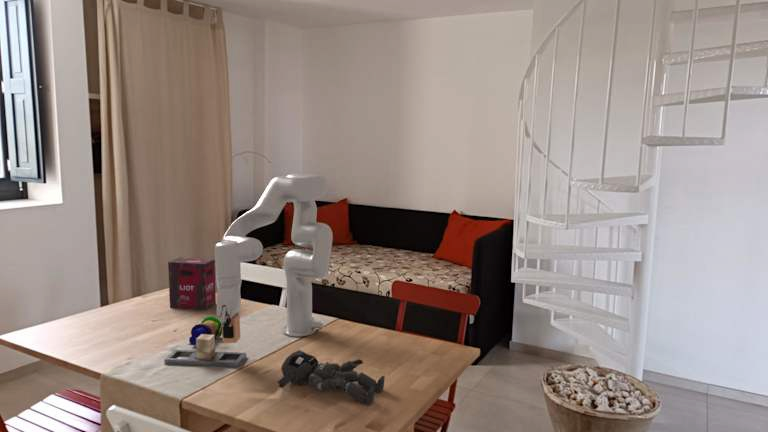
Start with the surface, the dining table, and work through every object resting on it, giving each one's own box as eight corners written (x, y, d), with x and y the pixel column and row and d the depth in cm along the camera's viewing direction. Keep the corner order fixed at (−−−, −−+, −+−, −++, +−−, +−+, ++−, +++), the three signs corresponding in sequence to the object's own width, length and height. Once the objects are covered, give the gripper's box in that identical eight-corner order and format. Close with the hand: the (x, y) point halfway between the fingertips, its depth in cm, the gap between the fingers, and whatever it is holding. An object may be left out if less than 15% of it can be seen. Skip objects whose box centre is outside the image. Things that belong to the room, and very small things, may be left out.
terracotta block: (240, 337, 180) (239, 314, 178) (236, 342, 176) (234, 319, 174) (227, 337, 180) (226, 313, 179) (222, 342, 176) (221, 318, 174)
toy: (215, 334, 187) (234, 319, 202) (196, 318, 187) (216, 304, 202) (197, 359, 190) (217, 342, 204) (178, 343, 190) (199, 327, 205)
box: (169, 307, 235) (168, 262, 232) (180, 301, 244) (179, 257, 241) (206, 310, 232) (204, 264, 229) (215, 304, 241) (214, 259, 238)
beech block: (215, 358, 181) (214, 334, 180) (210, 363, 176) (209, 339, 175) (202, 357, 181) (201, 334, 180) (196, 362, 177) (196, 339, 175)
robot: (367, 389, 149) (273, 359, 159) (363, 423, 151) (270, 391, 161) (389, 366, 165) (302, 339, 175) (385, 397, 167) (299, 369, 177)
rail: (246, 360, 182) (246, 352, 182) (238, 370, 174) (238, 362, 174) (175, 357, 184) (175, 349, 183) (164, 367, 176) (164, 359, 175)
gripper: (226, 272, 183) (228, 324, 186) (207, 287, 166) (210, 344, 169) (248, 273, 182) (250, 325, 186) (231, 288, 166) (234, 345, 169)
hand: (231, 334), depth 177 cm, fingers closed on terracotta block, 4 cm apart
